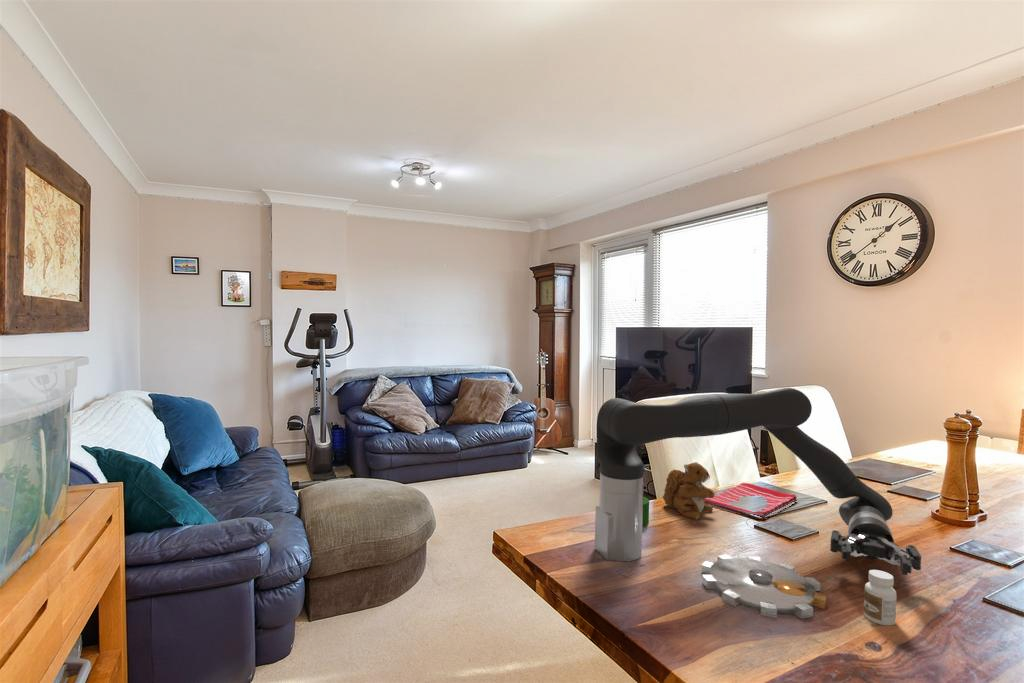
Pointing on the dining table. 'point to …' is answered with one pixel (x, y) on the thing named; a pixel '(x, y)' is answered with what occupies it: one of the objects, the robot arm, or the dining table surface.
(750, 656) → the dining table surface
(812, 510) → the dining table surface
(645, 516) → the candle
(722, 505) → the dish towel
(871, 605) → the pill bottle
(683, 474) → the stuffed squirrel
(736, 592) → the sprocket plate
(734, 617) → the dining table surface
